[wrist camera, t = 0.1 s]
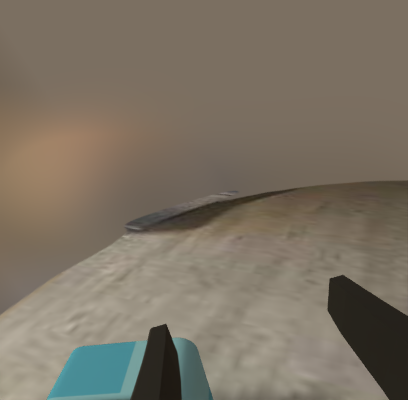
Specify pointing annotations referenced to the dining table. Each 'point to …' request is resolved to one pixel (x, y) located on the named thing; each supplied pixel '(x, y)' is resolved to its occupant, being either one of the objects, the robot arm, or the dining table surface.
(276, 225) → the dining table surface
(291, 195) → the dining table surface
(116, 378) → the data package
